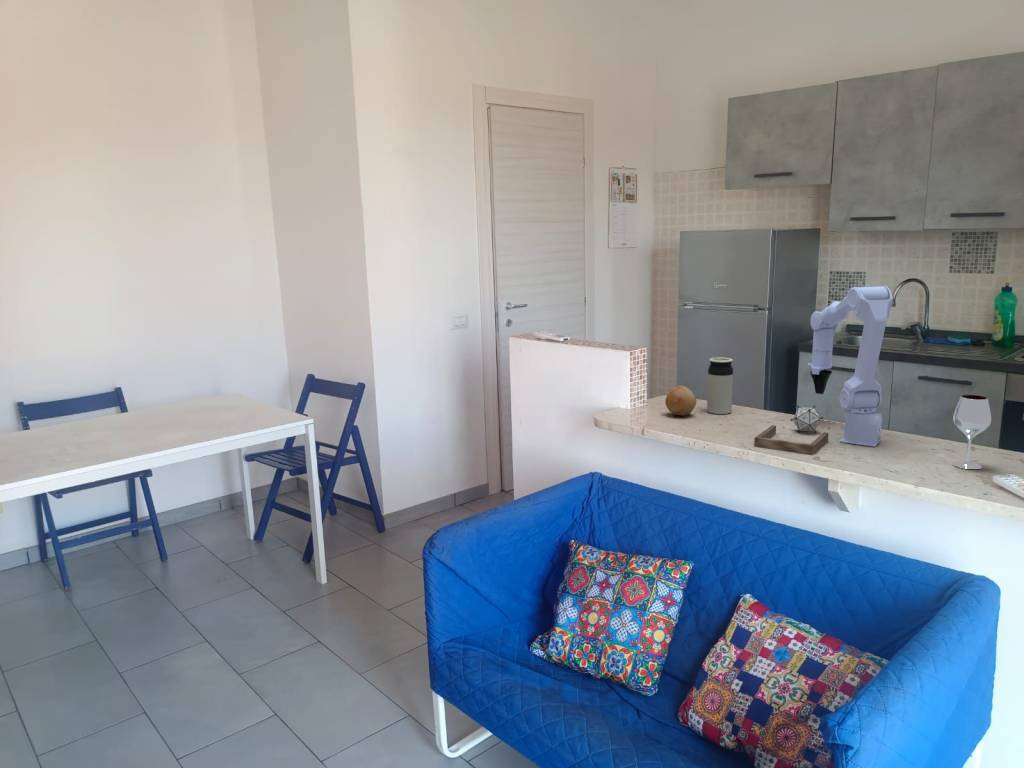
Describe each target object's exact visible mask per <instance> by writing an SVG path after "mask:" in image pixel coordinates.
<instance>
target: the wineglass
mask: <svg viewBox="0 0 1024 768" xmlns="http://www.w3.org/2000/svg"><path fill="white" fill-rule="evenodd" d="M989 403H990V401H989V399H988V397H987V396H983V395H980V394H979V395H977V394H962V395H960V397H959V400H958V402H957V405H956V406H955V410H954V412H953V416H952V419H953V420H952V421H953V423H954V425H955V427H957V429H958V430H959V431H960V432H962V434H964V435H965V437H966V438H967V445H966V447H967V448H966V455H965V461H956V462H953V463H952V466H953V465H954V466H953V467H955V466H957V467H960V468H959V469H961V467H962V468H965V469H964V470H966V469H980V470H981V469H982V468H983V467H982V466H981V465H980V464H977V463H975V462H970V461H971V460H970V459H971V451H972V450H971V449H972V440H973V439H974V438H975V437H977V435H979V434H981V433H983V432H985V431H986V430H987V429H988V428H989V427H990V426H991V423H992V413H991V408H990V404H989ZM957 467H956V468H957Z"/></svg>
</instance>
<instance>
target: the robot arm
mask: <svg viewBox="0 0 1024 768" xmlns="http://www.w3.org/2000/svg"><path fill="white" fill-rule="evenodd" d="M893 301H894V297H893V294H892V292H891V289H890V288H889V287H888V286H887V285H881V286H852V287H851V288H850V289H848V291H847V295H846V296H845V297H844V298H843V299H842V300H841V301H837V300H833V301H831V304H829V305H828V306H827V307H825V308H824V309H823V310H821V311H816V310H815V311H814V312H813V313H812V314H811V316H810V323H809V324H810V328H811V329H812V330H813V335H812V336H813V339H812V353H811V355H812V356H811V362H808V363H807V366H808V367H811V370H810V371H809V374H810V376H811V378H812V381H813V386H814V392H815V394H816V395H817V394H818V395H823V394H825V390H826V387H827V384H828V381H829V378H830V376H831V374H832V373H833V371H832V370H830V369H832V368H833V364H832V363H833V349H834V348H833V347H834V336H836V331H837V329H838V327H839V323H841V322H842V321H844V320H845V319H847V318H848V316H849V312H851V311H852V312H853V314H854V315H855V317H856V318H857V320H859V321H862V322H863V328H862V334H861V337H860V344H859V348H858V355H857V359H856V363H855V368H854V369H855V370H854V372H853V376H852V377H851V378H849V379H848V380H846V381H845V382H844V384H843V387H842V390H841V391H840V393H839V399H838V400H839V404H840V406H841V408H842V409H843V411H845V413H844V414H845V415H844V428H843V429H844V430H843V431H844V432H843V436H842V438H841V439H839V442H840V443H844V444H850V445H851V444H853V445H858V446H859V445H860V446H867V447H873V448H874V447H876V446H878V445H879V443H880V442H881V441H882V425H883V414H882V413H881V412H880V413H878V412H877V409H879V407H880V406H881V404H882V402H883V397H882V396H883V395H882V390H883V387H882V385H881V384H880V382H878V381H877V380H876V379H875V377H876V372H877V367H878V363H879V359H880V353H881V348H882V346H883V339H884V334H885V330H886V325H887V320H888V319H889V318H890V315H891V310H892V305H893Z"/></svg>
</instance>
